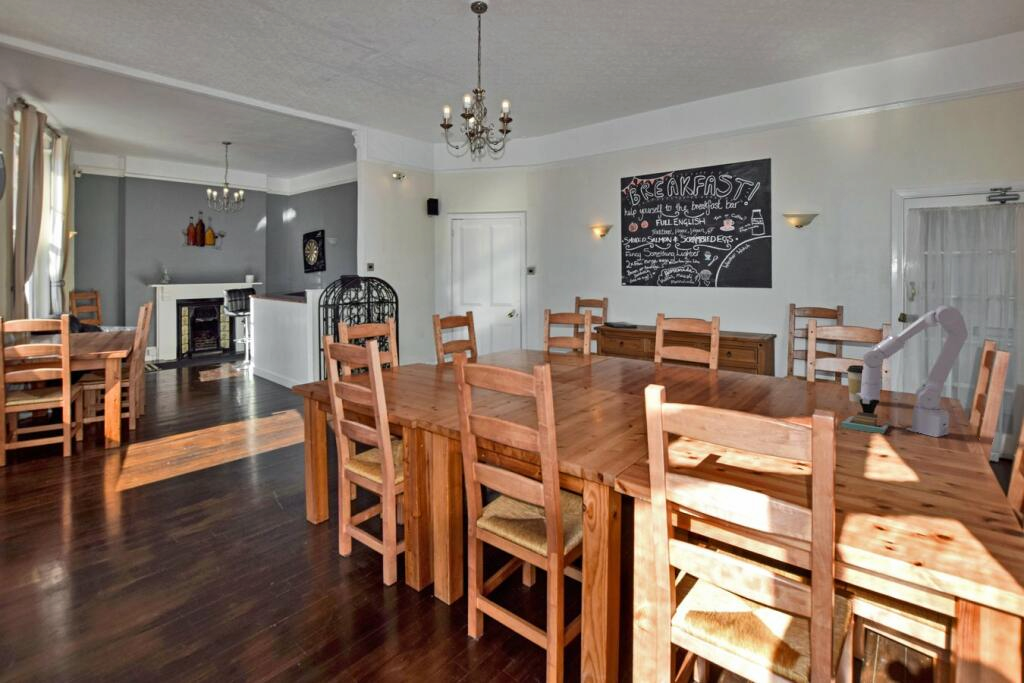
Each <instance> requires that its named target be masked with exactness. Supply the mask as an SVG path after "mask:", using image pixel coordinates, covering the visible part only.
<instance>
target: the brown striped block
mask: <svg viewBox="0 0 1024 683" xmlns="http://www.w3.org/2000/svg"><path fill="white" fill-rule="evenodd" d="M878 415H879V414H877V413H874V414H870V413H863V411H857V415H856V416H854V417H855V418H854V421H853V423H856V424H862V425H868V426H874V427H877V425H878Z"/></svg>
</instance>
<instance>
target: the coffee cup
mask: <svg viewBox="0 0 1024 683" xmlns="http://www.w3.org/2000/svg"><path fill="white" fill-rule="evenodd" d="M863 369H864V368H863V365H858V364H857V365H855V364H854V365H853V364H852V365H849V366H848V368H847V369H846V371H847V375H848V376H847V382H848V383H847V385H848V394H849V397H848V398H849V402H851V401H852V402H851V403H855V402H857V404H860V399H862V398H861V397H860V396H858V395H857V393H861V383H862V370H863Z"/></svg>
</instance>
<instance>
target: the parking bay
mask: <svg viewBox="0 0 1024 683" xmlns="http://www.w3.org/2000/svg"><path fill="white" fill-rule="evenodd" d="M855 417H856V416H852V415H850V416H849V417H847V418H846V419H845V420H844V421H843V420H842V421H841V424H840V425H841V426H840V428H842V427H843V428H842V429H846V428H847V429H848V430H853V431H858V430H860V431H859V432H864V431H868V432H867V433H870V432H874V433H873V434H876V433H880V434H879V435H882V434H883V435H884V434H885V433H886V432H887V430H888V429H889V428H888V427H890V426H891V422H890V421H884V422H883V423H882V425H881V426H880V427H879V426H875V427H874V426H868V425H862V424H856V423H854V418H855ZM847 429H846V430H847ZM885 431H886V432H885Z"/></svg>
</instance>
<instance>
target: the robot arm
mask: <svg viewBox="0 0 1024 683" xmlns="http://www.w3.org/2000/svg"><path fill="white" fill-rule="evenodd" d="M938 324H940V325H941V326H942V328H943V329H944V331H945V332H946V334H947V337H946V338H945V341H944V343H943V345H942V347H941V349H940V351H939V354H938V356H937V358H936V359H935V362H934V364H933V365H932V368H931V370H930V372H929V374H928V376H927V377H926V379H925V380H924V381H923V383H922V385H921V386H919V387H918V388H917V389H916V391H915V397H916V398H917V401H916V402H914V404H913V411H912V412H913V414H912V424H911V427H907V428H905V430H906V431H908V430H909V432H913V433H917V432H918V434H921V433H922V435H926V436H931V437H935V438H939V437H943V436H945V435H949V434H950V432H949V425H950V412H949V411H947V410H944V409H942V408H941V405H940V404H941V401H942V397H941V396H942V395H941V394H942V393H943V389H944V385H945V383H946V381H947V379H948V376H949V374H951V373H950V372H951V371H952V369H953V366H954V365H955V362H956V360H957V359H958V357H959V354H960V352H961V350H962V348H963V347H964V345H965V343H966V340H967V338H968V336H969V333H968V329H967V326H966V323H965V317H964V316H963V314H961V312H960V311H959V310H958V308H956V307H954V306H952V305H950V304H949V305H948V304H942V305H941V304H940V305H939V306H936V308H935V309H933V310H930V311H928V312H926V313H925V314H923V315H922V316H920V317H919V318H918V319H916V320H915V321H914V322H913V323H911V324H909V325H908V326H907V327H906V328H905V329H903V330H902V331H900V332H899V333H898V334H890V335H889V336H887V335H886V336H884V337H883V338H882V341H880V342H879V343H877V344H876V345H872V346H871V349H868V350H866V351H865V352H864V353H863V355H862V358H863V365H862V366H863V368H864V369H863V370H862V383H861V393H857V395H858V396H860V397H861V398H862V399H860V403H859V404H860V406H861V408H862V412H863V413H870V414H875V411H876V408H877V406H878V404H879V403H880V402H881V401H880V400H879V399H880V398H881V395H880V394H881V384H882V382H881V381H882V364H883V363H884V360H885V359H887V360H888V359H889V358H890V357H892V356H893V355H895V354H896V353H898V352H899V351H901V350H902V349H904V347H905V342H906V341H908V340H909V339H911V338H913V337H914V336H915V335H917V334H918V333H920V332H922V331H923V330H925V329H926V328H931V327H932V328H933V327H938Z"/></svg>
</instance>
